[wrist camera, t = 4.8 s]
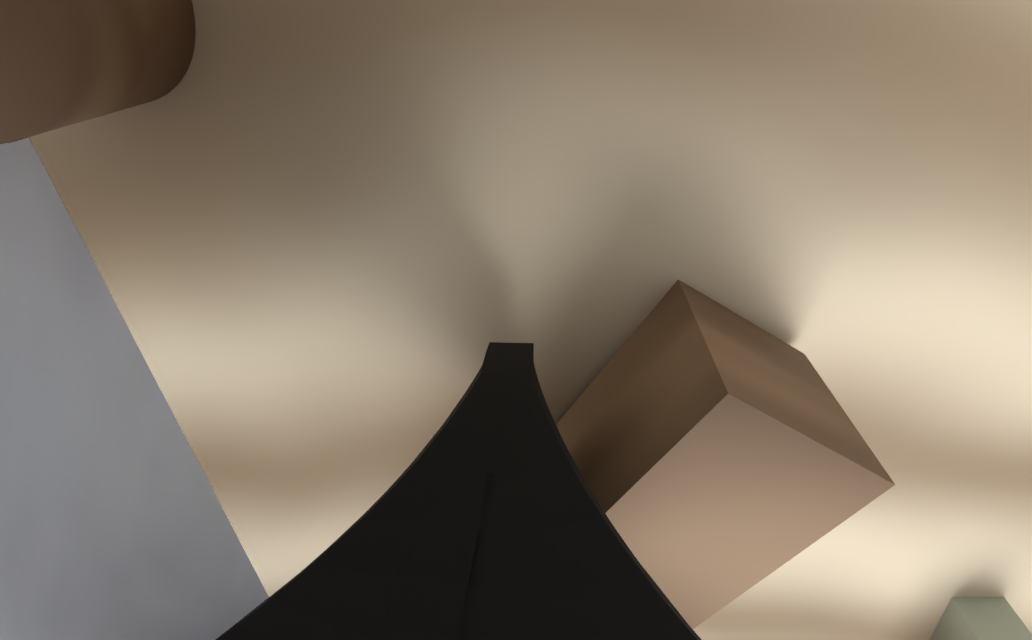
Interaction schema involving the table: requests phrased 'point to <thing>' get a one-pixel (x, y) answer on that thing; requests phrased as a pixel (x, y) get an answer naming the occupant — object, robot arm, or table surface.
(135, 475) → the table surface
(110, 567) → the table surface
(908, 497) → the board
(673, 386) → the folding leg
